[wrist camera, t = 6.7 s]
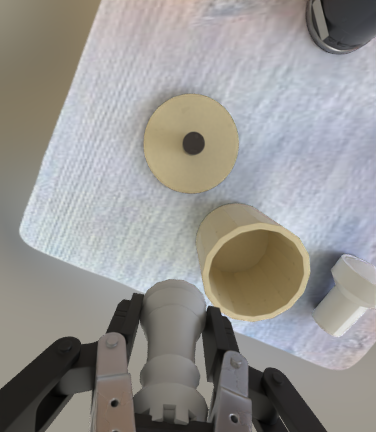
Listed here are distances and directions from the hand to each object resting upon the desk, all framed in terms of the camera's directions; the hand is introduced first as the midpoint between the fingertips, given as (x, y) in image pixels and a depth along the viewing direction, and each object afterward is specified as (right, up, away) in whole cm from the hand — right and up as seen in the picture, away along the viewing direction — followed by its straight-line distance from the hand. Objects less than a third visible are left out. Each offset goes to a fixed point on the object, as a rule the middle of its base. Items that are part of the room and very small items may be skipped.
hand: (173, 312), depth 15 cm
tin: (+8, +3, +19) cm, 21 cm away
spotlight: (+25, -4, +22) cm, 33 cm away
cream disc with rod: (+1, +16, +15) cm, 22 cm away
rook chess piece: (0, 0, +1) cm, 1 cm away
